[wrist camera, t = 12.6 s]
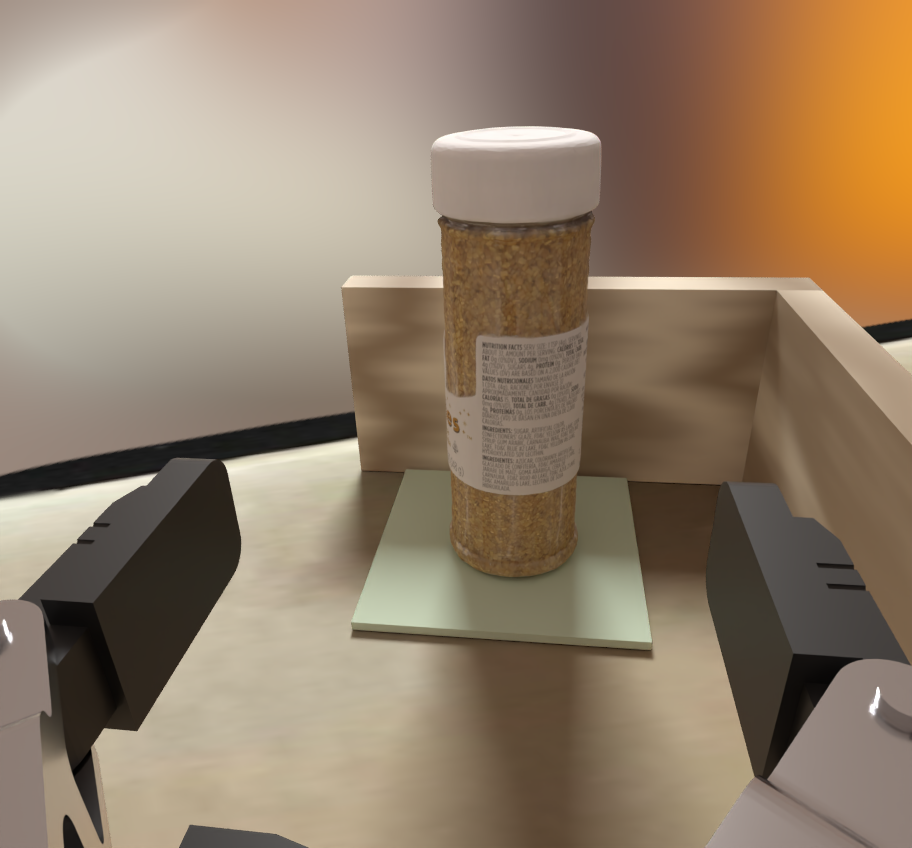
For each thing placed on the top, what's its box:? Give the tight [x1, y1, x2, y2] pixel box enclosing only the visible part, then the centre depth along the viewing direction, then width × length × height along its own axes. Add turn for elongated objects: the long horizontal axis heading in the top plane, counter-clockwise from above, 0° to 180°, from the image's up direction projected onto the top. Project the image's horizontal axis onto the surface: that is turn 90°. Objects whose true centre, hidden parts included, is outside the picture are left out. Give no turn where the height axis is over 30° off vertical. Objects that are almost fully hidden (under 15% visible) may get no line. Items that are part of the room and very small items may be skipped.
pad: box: [351, 469, 652, 650], centre depth 25 cm, size 9×9×1 cm
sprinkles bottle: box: [431, 126, 601, 577], centre depth 22 cm, size 5×5×13 cm
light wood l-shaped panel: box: [341, 276, 912, 666], centre depth 21 cm, size 17×18×8 cm
